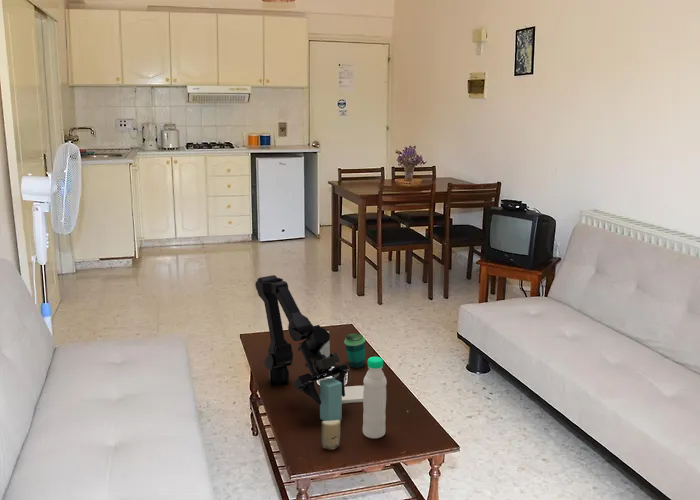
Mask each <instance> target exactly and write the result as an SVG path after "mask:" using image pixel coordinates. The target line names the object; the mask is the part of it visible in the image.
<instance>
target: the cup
mask: <svg viewBox="0 0 700 500" xmlns="http://www.w3.org/2000/svg"><path fill="white" fill-rule="evenodd" d="M343 343H344V345H345V350H346V356H347V359H348V362H349V367H351V368H354V369H359V368H363V367H364V366H365V365H366V345H365V344H366V338H365V337H364V336H363V334H360V333H349V334H347V335H346V337H345V339H344V341H343Z"/></svg>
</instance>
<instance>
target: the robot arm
mask: <svg viewBox="0 0 700 500" xmlns="http://www.w3.org/2000/svg"><path fill="white" fill-rule="evenodd" d="M254 285H255V286H254V287H255V289H256V291H257V295H258V297H259V298H260V299H261V300H262V301H263V302H264V303H263V304H264V308H265V314H266V319H267V325H268V331H269V336H270V337H269V338H270V344H269V346H268V350H267V352H268V356H267V357H266V358H265V359H264V361H263V363H264V367H265V368H266V369H268V370H269V376H268V379H269V386H272V387H274V386H287V385H288V384H289V381H290V374H289V373H290V369H289V368H288V366H289V367H290V366H292V364H293V359H294V352H293V349H292V344H291V343H290V342H288V341H287V340H286V339H285V333H284V328H283V327H284V326H283V323H282V317H281V309H282V311H283V313H284V315H285V317H286V319H287V322H288V327H287V331H288V332H289V336H290V338H291V339H292V340H293V341H294V342H300V341H302V342H300V343H298V347H297V351H298V352H301V354H302V356H303V358H304V361H305V364H304V366H305V368H306V369H307V368H308V370H309V373H305V374H301V375H299V376H298V377H297V378H296V380H294V383H293V386H294V388H295V391H300V392H303V393H305V394H306V395H308V396H309V398H311V399H312V400H313V401H314V402H316V403H317V404H318V405H319V406H320V405H321V404H322V403H321V400H320V394H318V391H317V389H316V386H315V382H317V381H319V380H320V381H321V380H323V379H328V378H334V379H336V380H338V381H339V382H341V383H342V396H343V397H344V396H345V388H344V387H345V376H346V375H347V374H348V372H349V370H350V366H349V365H348V364H347V363H346V362H342V363H340V357H339V355H338V353H337V352H332V353H330V356H328V357H327V358H326V357H325V355H324V354H323V355H322V354H321V352H320V350H321V349H322V348H323V347H324V346H325V344H326V343H327V342H328V341H329V339H330V338H331V336H330V331H329V332H327V331H328V330H327V329H325V328H324V327H321V326H320V324H317V325H313V324H312V323H311V321H310V320H309V318H308V317H307V316H306V315H304V314H303V313H302V312H301V311H300V308H299V307H298V304H297V303H296V301H295V299H294V297H293V296H292V293H291V291H290V289H289V284H288V282H287V281H286V280H284V278H281V277H277V275H274V274H272V275H266V276H262V277H258V278H257V280H256V281H255V284H254ZM280 307H281V309H280ZM330 340H331V339H330ZM337 363H339V364H337Z"/></svg>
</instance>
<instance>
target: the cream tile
mask: <svg viewBox="0 0 700 500" xmlns="http://www.w3.org/2000/svg"><path fill="white" fill-rule="evenodd" d="M344 388H345V396H344V397H343V396H342V404H351V403H363V392H364V384H363V385H353V386H351V385H350V386H344Z"/></svg>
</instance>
